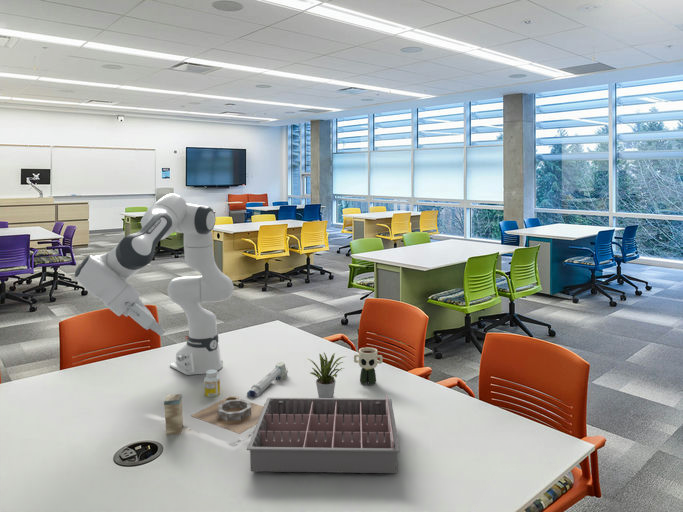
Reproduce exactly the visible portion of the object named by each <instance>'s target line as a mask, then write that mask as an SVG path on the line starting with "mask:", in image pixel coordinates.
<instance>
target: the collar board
mask: <svg viewBox="0 0 683 512" xmlns="http://www.w3.org/2000/svg"><path fill="white" fill-rule="evenodd" d="M263 408H264V406H263V405H260V404H257V403H254V402H251V401H248V400H245V399H243V398H239V399H235V400H229V401H228V400H227V401H225V402H224V398H223V399H222V400H219V401H218V402H215V403H213V404H211V405H210V406H208V407H206V408H203V409H202V410H201V409H200V411H197V412H196V413H193V414H191V415H190V417H192V418H196V419H199V420H201V421H204V422H207V423H209V424H212V425H214V426H217V427H220V428H222V429H225V430H228V431H231V432H233V433H237V434H239V435H240V434H242V433H243V432H246V431H247V430H249V429H251V428H252V427H254V426H256V425H257V423H258V420H259V418H260V415H261V413H262V410H263Z"/></svg>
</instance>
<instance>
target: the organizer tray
mask: <svg viewBox="0 0 683 512" xmlns="http://www.w3.org/2000/svg"><path fill="white" fill-rule="evenodd" d="M399 443H400V442H399V438H398V432H397V426H396V420H395V414H394V407H393V402H392V399H391V398H388V394H385V398H365V397H364V398H358V397H357V398H355V397H353V398H349V397H347V398H346V397H345V398H343V397H342V398H341V397H340V398H339V397H338V398H337V397H333V398H319V397H267V398H266V400H265V404H264V408H263V410H262V413H261V415H260V418H259V420H258V423H257V424H256V425H255V427H254V431H253V433H252V435H251V437H250V441H249V443H248V445H247V447H246V451H249V453H250V454H249V458H250V460H249V461H250V472H278V473H279V472H283V473H284V472H287V473H292V472H293V473H305V472H306V473H361V474H363V473H365V474H367V473H368V474H369V473H370V474H373V473H374V474H376V473H377V474H397V463H398V462H397V454H398V453H399V452H401V450H400V445H399Z"/></svg>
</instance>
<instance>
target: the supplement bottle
mask: <svg viewBox="0 0 683 512" xmlns="http://www.w3.org/2000/svg"><path fill="white" fill-rule="evenodd" d="M203 380H204V381H203V382H204V385H203V386H204V397H206V398H207V397H208V398H214V397H217V396H219V395H220V394H221V384H220V376H219V375H218V370H214V369H212V370H208V371H206V374H205V377H204V379H203Z"/></svg>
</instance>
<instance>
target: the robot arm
mask: <svg viewBox="0 0 683 512" xmlns="http://www.w3.org/2000/svg"><path fill="white" fill-rule="evenodd" d="M215 224H216V213H215V212H214V210H213V208H212V207H210V206H208V205H204V204H200V205H199V204H196V203H195V204H194V203H187V202H186V199H184V198H183V197H182V196H181V195H180V194H177V193H168V194H166V195H164V196H161V198H159V199H158V200H156V201H155V202H154V203H153V204H152V205H151V206H150V207H149V208H147V210H146V211H145V212H144V214H143V215H142V218H141V220H140V225H141V229H140V230H139V231H137V232H134V233H130V234H127V235H126V236H124V237H123V238H122V239H121V240H120V242H118V243H117V245H115V246H114V247H113V248H112V249H111V250H110V251H109V252H105V253H103V254H99V255H88V256H86V257H85V258H84V259H83V260H82V261H81V262H80V264H78V266H77V268H76V270H75V272H74V277H75V280H76V281H77V282H78V283H79V285H81V286H82V288H83V289H85V291H86V292H87V293H89V294H91V296H93V297H94V298H97V299H99V300H100V301H101V302H102V303H103V305H104V306H105V307H106V308H108V309H109V310H110V311H111V312H113V313H114V314H115V315H116V316H118V317H121V316H122V315H123V316H125V317H128V316H129V317H130V318H131V319H132V320H133V321H135V322H136V323H137V324H138V325H140V326H141V328H143V329H145V330H147V331H149V329H150V330H151V331H153V332H155V333H156V334H157V335H158V336H160V337H162V336H163V335H164V334H165V330H164V329H163V328H162V325H161V324H160V323H159V322H157V320H156V319H155V318H154V317H155V316H154V315H153V314H152V313H151V311H150V310H149V309H148V307H147V306H146V305H145V304H143V300H142V299H141V298H139V297H140V296H141V292H139V291H138V290H137V288H135V287H133V286H132V284H130V283H128V282H127V280H129V279H130V278H132V277H133V276H134V275H136V274H137V273H138V272H139V271H140V270H142V269H143V268H145V267H146V266H148V265H149V264H150V263H151V262H152V261H153V258H154V256H155V251H156V247H157V244H158V243H159V242H160V241H162V240H163V241H164V240H165V239H166V238H168V237H169V236H171V234H173V233H174V232H175V233H181V234H183V251H184V252H183V254H184V262H185V264H186V265H187V267H189V268H190V269H192V270H195V271H197V272H199V274H201V275H184V276H179V277H175V278H172V280H171V279H170V280H171V281H169V283H168V285H167V296H168V297H169V299H170V300H171V302H173V303H175V304H176V305H177V306H179V307H180V308H181V309H182V311H183V313H184V314H185V315H186V319H187V324H188V335H187V336H185V337H184V339H185V340H186V343H185V344H184V345H183V346H182V347H181V348H180V349H179V350H177V351H176V355H175V360H174V361H173V362H171V363H170V364H169V366H170V368H172V369H175V370H176V371H178V372H180V373H182V374H184V375H186V376H192V375H206V371H208V370H212V369H214V370H217V371H219V370H221V369H222V368H223V359H222V358H221V357H222V355H221V349H220V345H219V334H218V331H217V330H218V327H217V326H218V325H217V323H218V322H217V316H216V314H214V312H212V311H210V310H208V309H205V308H203V306H201V305H202V303H215V302H217V303H219V302H222V301H226V300H229V299H230V298H231V297H232V295H233V293H234V288H235V287H234V286H235V285H234V283H233V280H232V279H231V278H230V276H228V275H227V274H224V273H223V272H222V271H221V270H220V268H219V266H218V265H217V262H216V259H215V254H214V244H213V243H214V241H213V240H214V239H213V232H212V231H213V229H214V228H215Z"/></svg>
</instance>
